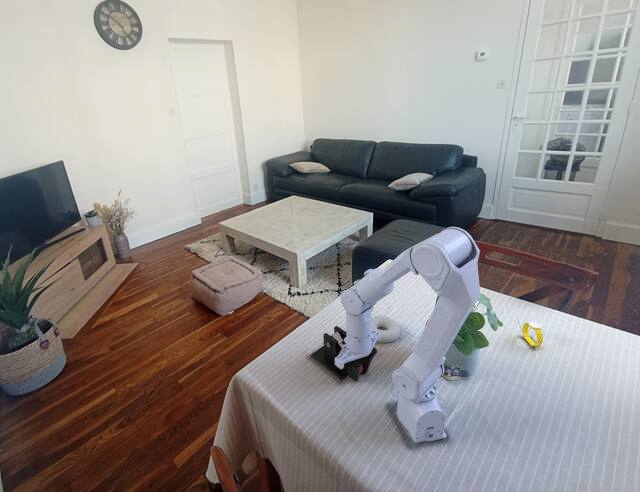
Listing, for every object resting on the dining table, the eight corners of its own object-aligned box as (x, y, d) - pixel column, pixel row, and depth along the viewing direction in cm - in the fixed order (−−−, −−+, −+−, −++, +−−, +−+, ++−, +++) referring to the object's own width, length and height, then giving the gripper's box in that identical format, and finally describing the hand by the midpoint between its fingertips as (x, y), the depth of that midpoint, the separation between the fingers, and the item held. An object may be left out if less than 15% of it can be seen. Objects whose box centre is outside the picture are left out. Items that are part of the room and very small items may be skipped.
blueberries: (427, 370, 84) (428, 364, 84) (447, 356, 88) (447, 350, 88) (453, 387, 79) (454, 381, 78) (472, 371, 83) (473, 365, 82)
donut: (404, 346, 93) (396, 322, 102) (404, 336, 92) (396, 313, 101) (367, 345, 94) (362, 322, 104) (367, 336, 93) (362, 313, 102)
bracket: (364, 363, 88) (364, 336, 85) (340, 381, 83) (339, 353, 80) (333, 342, 97) (332, 316, 94) (310, 357, 92) (308, 331, 89)
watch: (518, 335, 93) (521, 317, 91) (528, 334, 93) (532, 316, 91) (532, 350, 88) (536, 331, 85) (543, 350, 87) (548, 331, 85)
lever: (362, 371, 85) (367, 367, 83) (353, 378, 84) (359, 374, 81) (334, 334, 90) (339, 329, 88) (326, 340, 88) (330, 335, 86)
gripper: (365, 310, 86) (364, 351, 91) (324, 336, 78) (326, 380, 83) (388, 323, 81) (386, 366, 86) (347, 352, 73) (348, 398, 78)
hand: (358, 374), depth 84 cm, fingers closed on lever, 3 cm apart
